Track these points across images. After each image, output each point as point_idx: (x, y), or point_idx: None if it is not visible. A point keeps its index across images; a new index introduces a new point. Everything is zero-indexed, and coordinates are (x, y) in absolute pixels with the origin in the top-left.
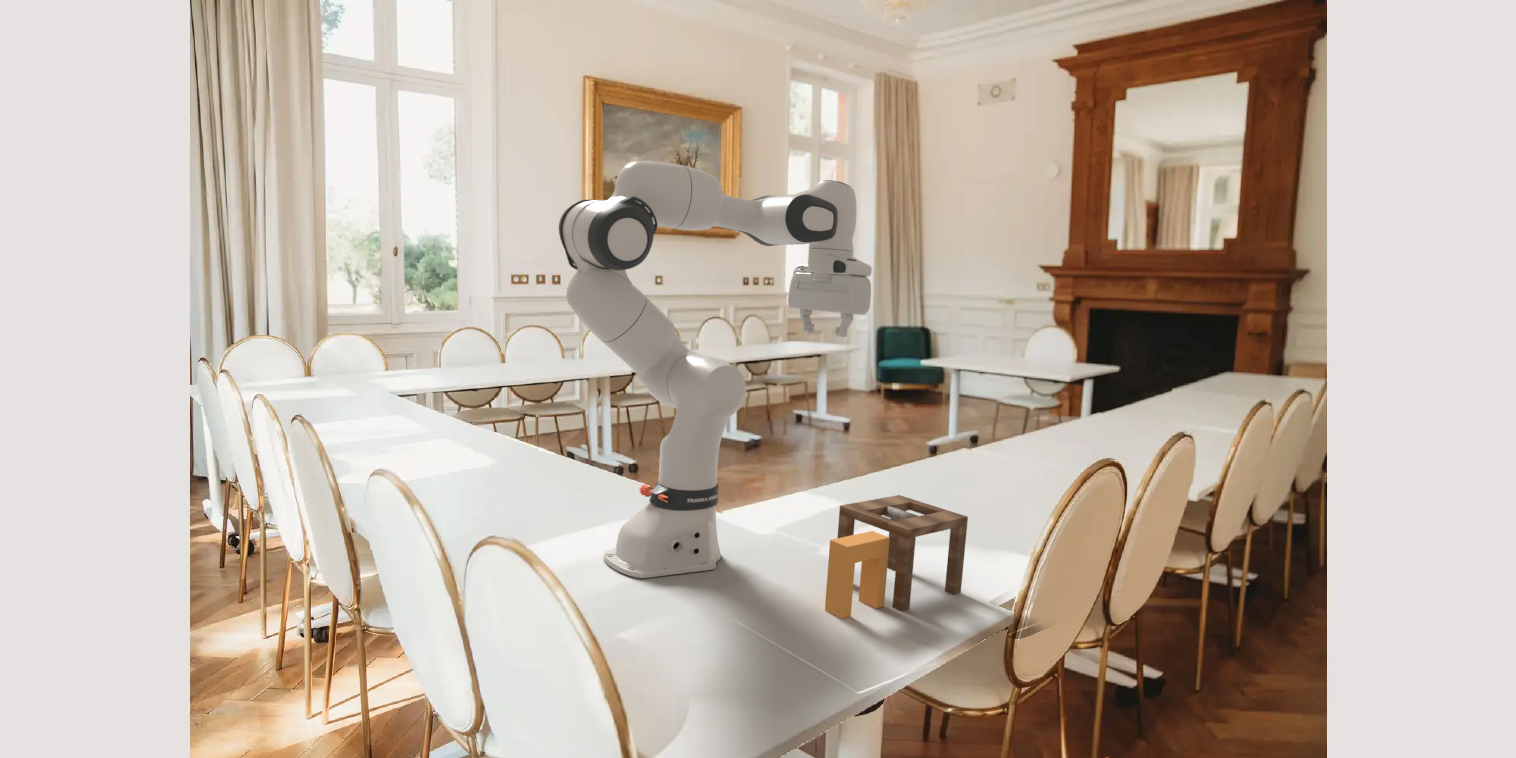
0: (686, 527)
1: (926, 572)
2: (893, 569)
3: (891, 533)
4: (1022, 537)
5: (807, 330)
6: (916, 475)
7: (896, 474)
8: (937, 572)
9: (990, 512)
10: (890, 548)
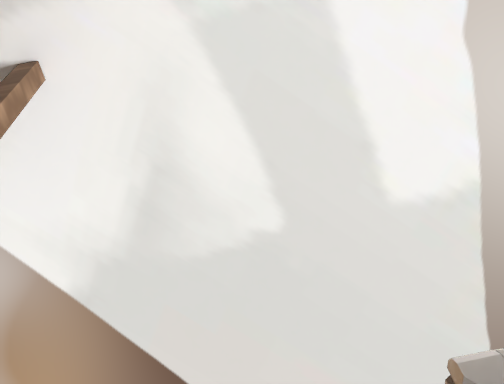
0: None
1: None
2: (19, 64)
3: (10, 86)
4: (134, 338)
5: (461, 364)
6: None
7: None
8: None
9: (248, 365)
10: (19, 75)
